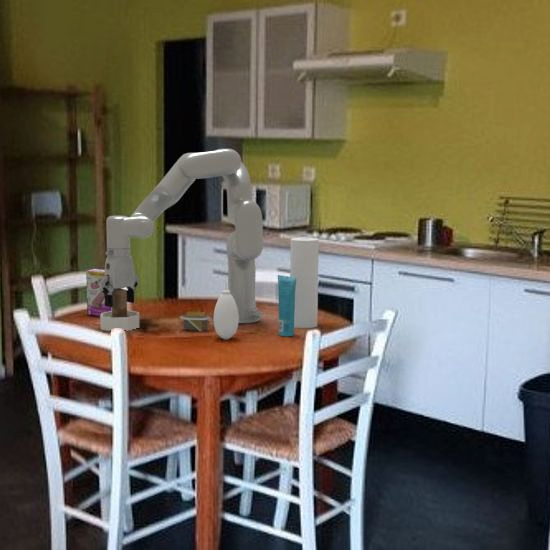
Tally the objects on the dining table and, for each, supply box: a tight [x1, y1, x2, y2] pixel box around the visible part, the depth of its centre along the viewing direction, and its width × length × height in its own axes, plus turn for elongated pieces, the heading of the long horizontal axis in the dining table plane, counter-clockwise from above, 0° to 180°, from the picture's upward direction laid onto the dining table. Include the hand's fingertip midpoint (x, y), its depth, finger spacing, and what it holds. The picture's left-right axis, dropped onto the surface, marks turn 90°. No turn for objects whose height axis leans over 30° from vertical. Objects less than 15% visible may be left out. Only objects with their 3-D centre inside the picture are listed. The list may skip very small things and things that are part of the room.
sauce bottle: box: [213, 282, 240, 340], centre depth 253 cm, size 8×8×18 cm
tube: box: [277, 274, 297, 337], centre depth 259 cm, size 7×5×19 cm, turn 57°
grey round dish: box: [99, 309, 140, 332], centre depth 270 cm, size 13×13×4 cm
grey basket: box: [179, 311, 211, 332], centre depth 265 cm, size 12×18×7 cm, turn 84°
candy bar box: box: [85, 268, 115, 318], centre depth 288 cm, size 11×5×16 cm, turn 63°
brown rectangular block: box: [112, 288, 128, 317], centre depth 269 cm, size 4×2×12 cm, turn 55°
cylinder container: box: [289, 236, 320, 329], centre depth 273 cm, size 9×9×30 cm
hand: (119, 304), depth 269 cm, fingers open, 9 cm apart
